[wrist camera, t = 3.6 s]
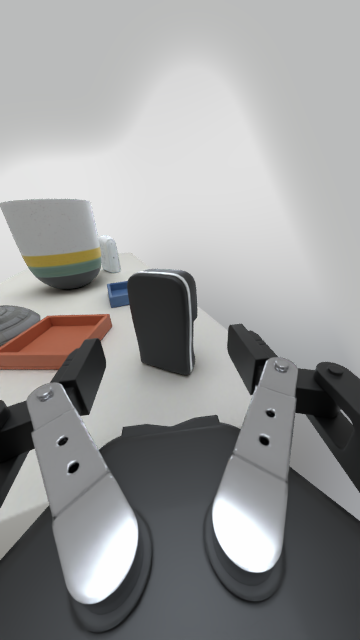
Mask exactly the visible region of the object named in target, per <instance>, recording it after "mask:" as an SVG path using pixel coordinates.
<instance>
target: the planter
mask: <svg viewBox="0 0 360 640" xmlns="http://www.w3.org/2000/svg"><path fill="white" fill-rule="evenodd" d="M0 207H1V209H2V212H3V214H4V216H5V219H6V221H7V223H8V225H9V228H10V231H11V233H12V234H13V237H14V240H15V242H16V244H17V246H18V248H19V250H20V252H21V255H22V257H23V259H24V261H25V263H26V264H27V266H28V268H29V269H30V271H31V272H32V273H33V274H34V275H35V276H36V278H38V279H39V280H40V281H42V282H43V283H45V284H47V285H49V286H52V287H55V288H60V289H72V288H78V287H81V286H84V285H87V284H88V283H90V282H91V281H93V280H94V278H95V277H96V276H97V274H98V273H99V271H100V268H101V250H100V244H99V239H98V234H97V229H96V224H95V220H94V215H93V211H92V207H91V203H90V201H86V200H77V199H31V200H17V201H8V202H3V203H0Z"/></svg>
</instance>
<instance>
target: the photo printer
mask: <svg viewBox="0 0 360 640" xmlns="http://www.w3.org/2000/svg"><path fill="white" fill-rule="evenodd" d="M98 239H99V244H100V250H101V263H102V267H103V269H104V270H107V271H109V272H113V273H116V272H120V271H121V267H120V262H119V257H118V252H117V247H116V243H115V241H114V240H113V239H112V238H111V237H109V236H107V235H104V236H100V237H99V238H98Z"/></svg>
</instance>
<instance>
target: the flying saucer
mask: <svg viewBox="0 0 360 640" xmlns="http://www.w3.org/2000/svg"><path fill="white" fill-rule="evenodd" d="M39 321H40V315H39V314H37V313H36V312H34V311H32V310H30V309H27V308H24V307H18V306H0V346H3V345H4V344H6V343H7V342H9V341H10V340H12V339H13V338H15V337H16V336H18V335H19V334H21V333H22V332H24V331H25V330H27V329H29V328H30V327H32V326H33V325H35V324H36V323H38V322H39Z"/></svg>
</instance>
